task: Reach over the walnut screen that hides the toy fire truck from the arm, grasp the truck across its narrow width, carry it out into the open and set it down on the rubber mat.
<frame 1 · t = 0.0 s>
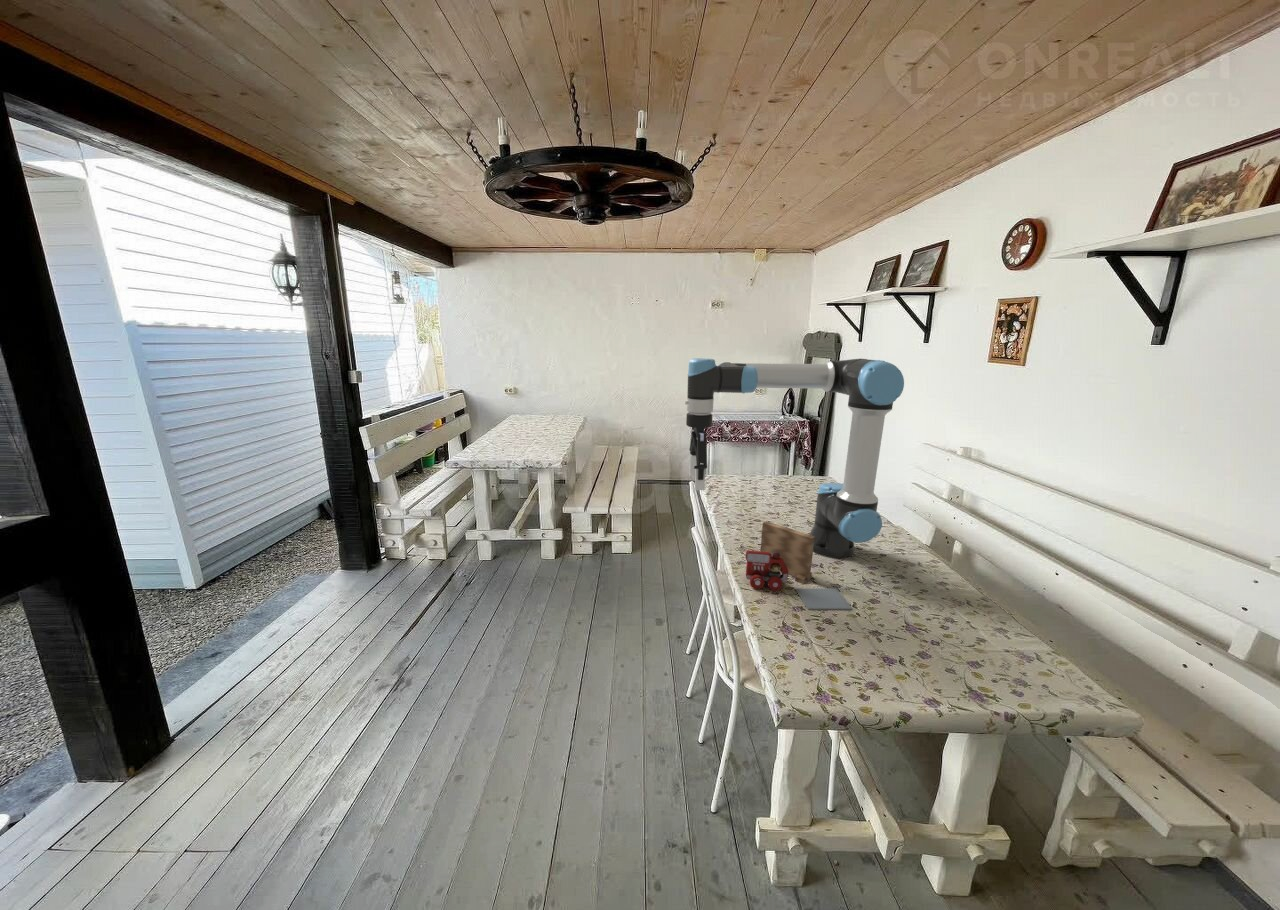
hand: (696, 482, 140), 28 cm above the table, fingers open, 13 cm apart
mat: (822, 599, 130), on the table
screen: (783, 570, 145), on the table
toy fire truck: (765, 585, 138), on the table
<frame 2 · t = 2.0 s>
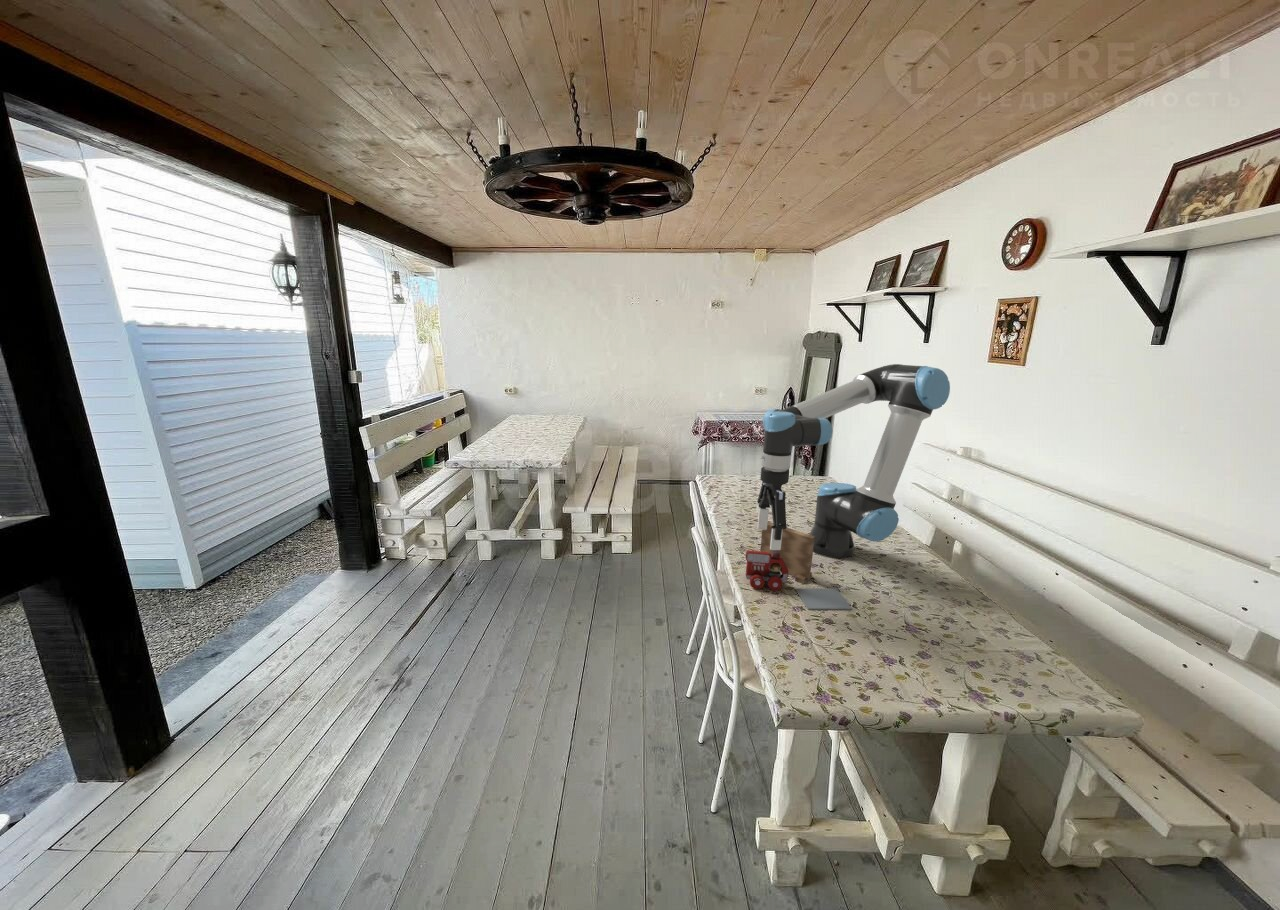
hand: (768, 538, 134), 15 cm above the table, fingers open, 13 cm apart
nothing on the table moved.
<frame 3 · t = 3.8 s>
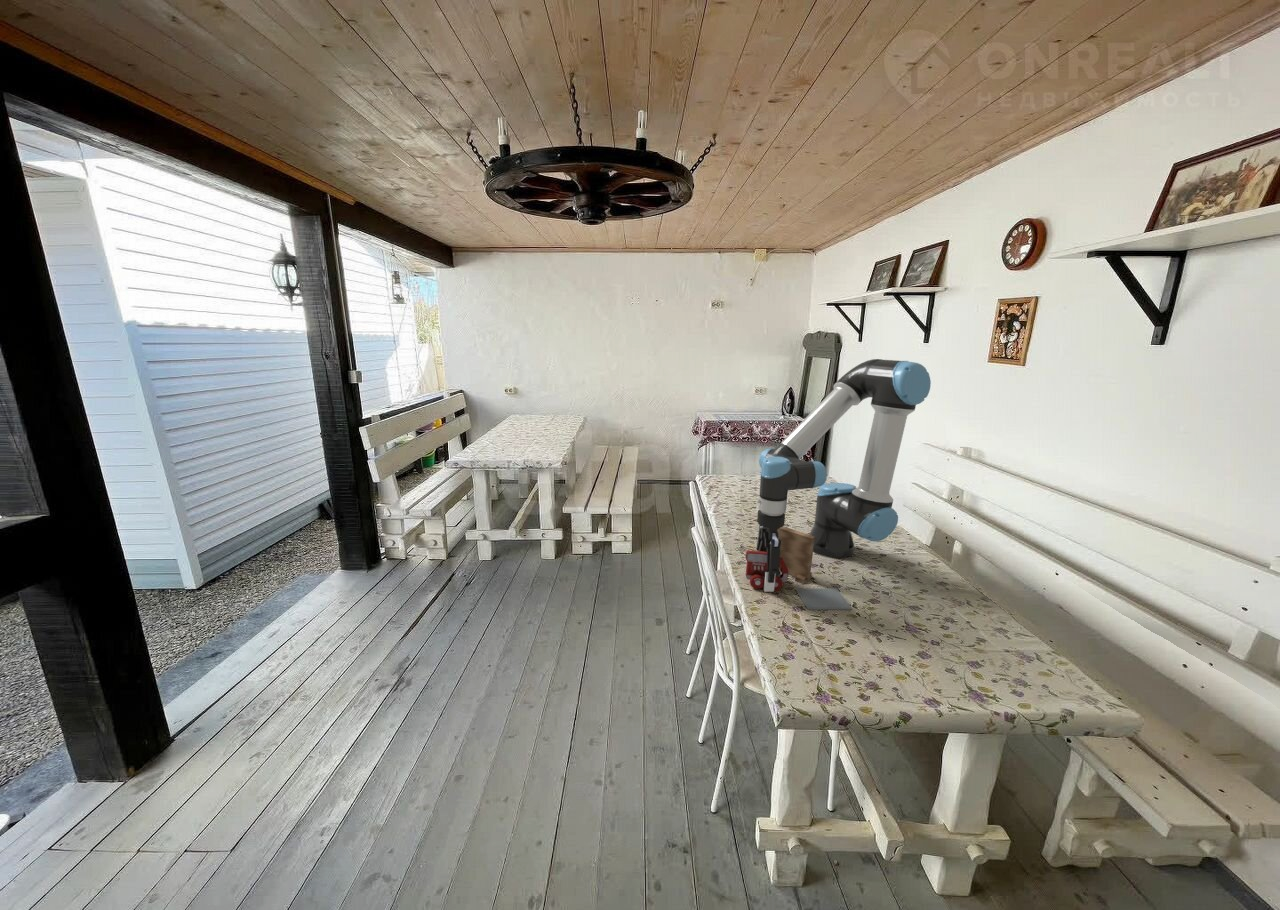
hand: (764, 583, 137), 0 cm above the table, fingers closed on toy fire truck, 7 cm apart
toy fire truck: (765, 584, 138), on the table, touching gripper
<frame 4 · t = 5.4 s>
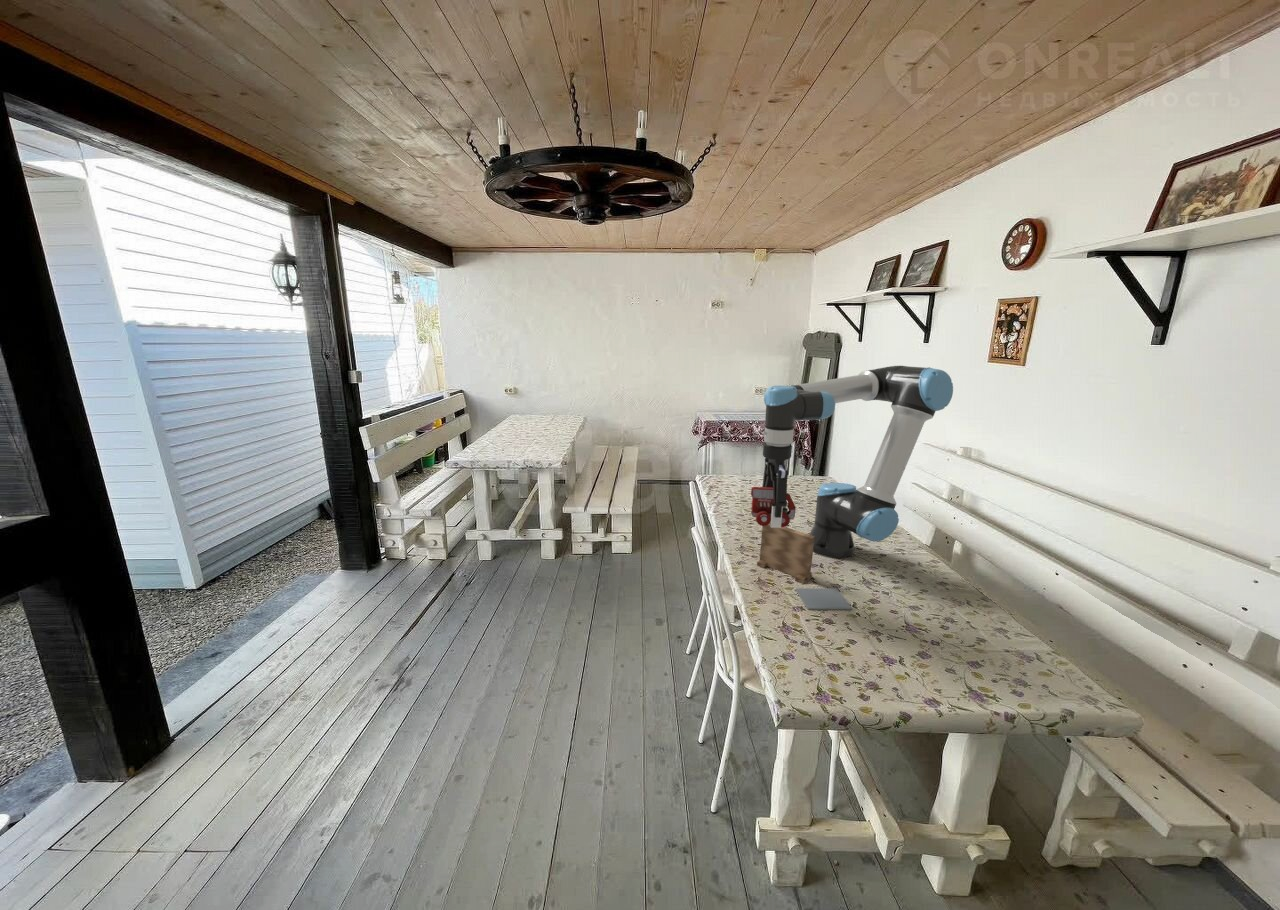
hand: (771, 521, 132), 20 cm above the table, fingers closed on toy fire truck, 7 cm apart
toy fire truck: (771, 522, 133), point 20 cm above the table, touching gripper
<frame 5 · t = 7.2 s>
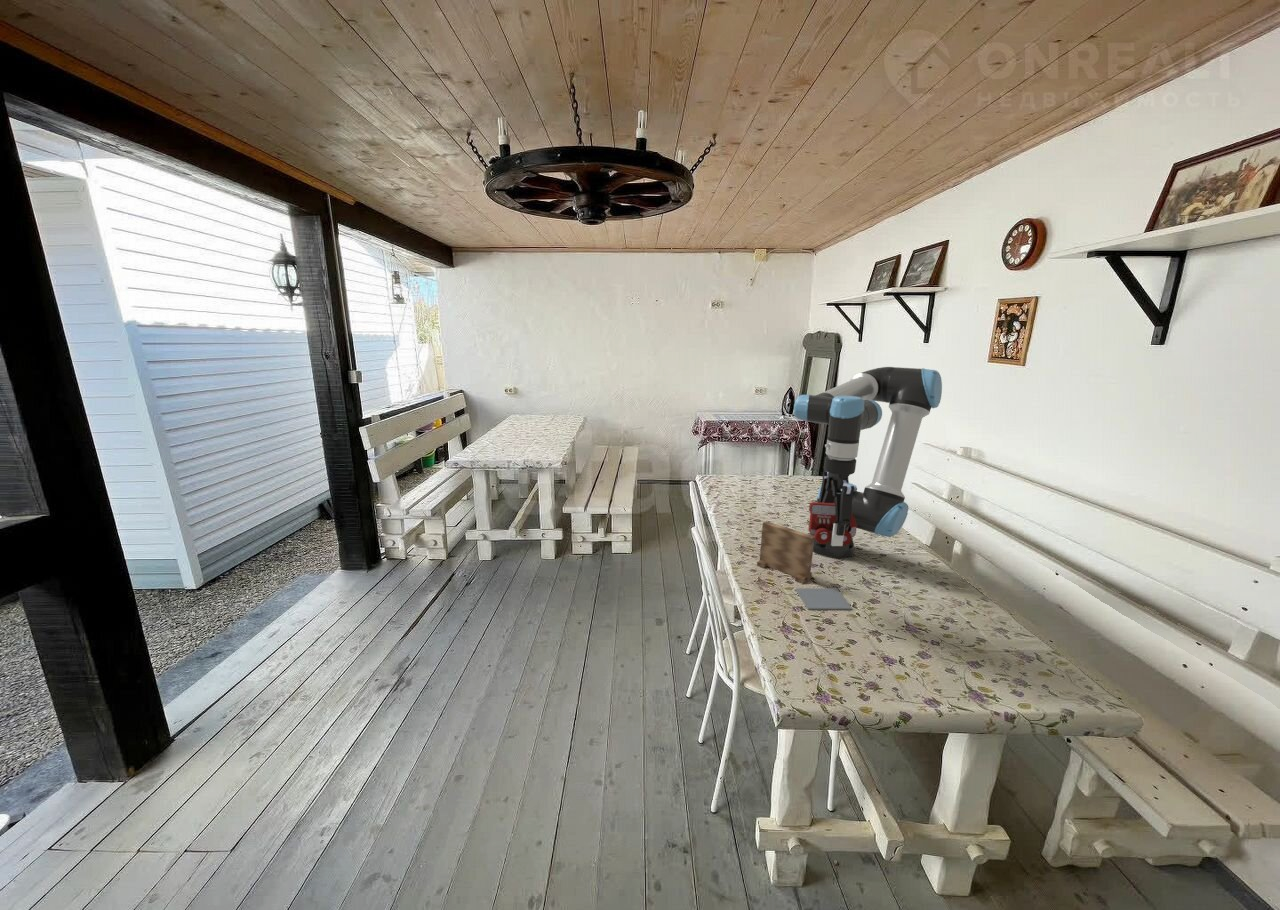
hand: (830, 538, 125), 19 cm above the table, fingers closed on toy fire truck, 7 cm apart
toy fire truck: (830, 540, 125), point 18 cm above the table, touching gripper
when the fingers open (2 cm above the table, at t = 9.9 s): toy fire truck drops 1 cm, resting on mat.
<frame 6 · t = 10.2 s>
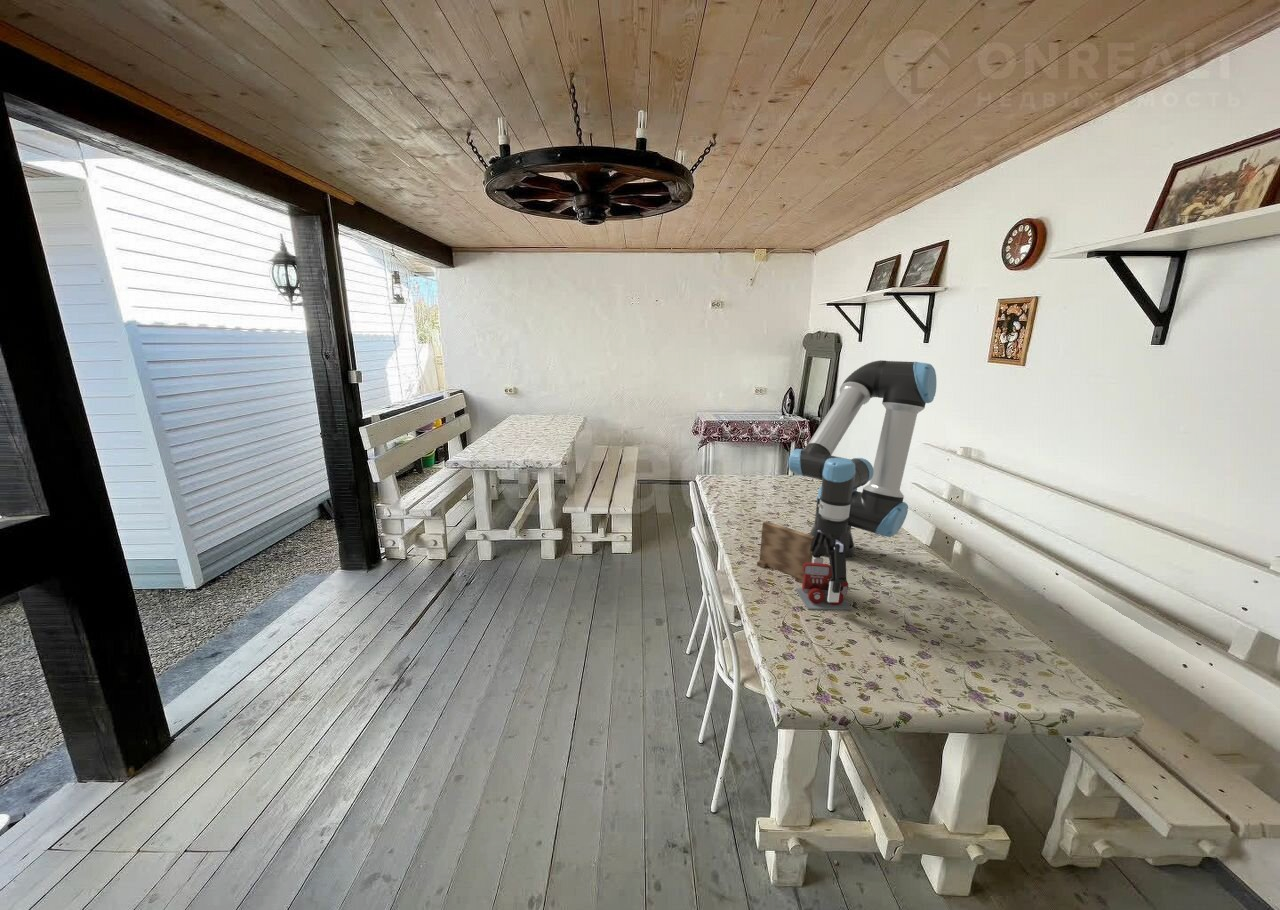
hand: (823, 589, 129), 3 cm above the table, fingers open, 11 cm apart
toy fire truck: (822, 598, 130), resting on mat
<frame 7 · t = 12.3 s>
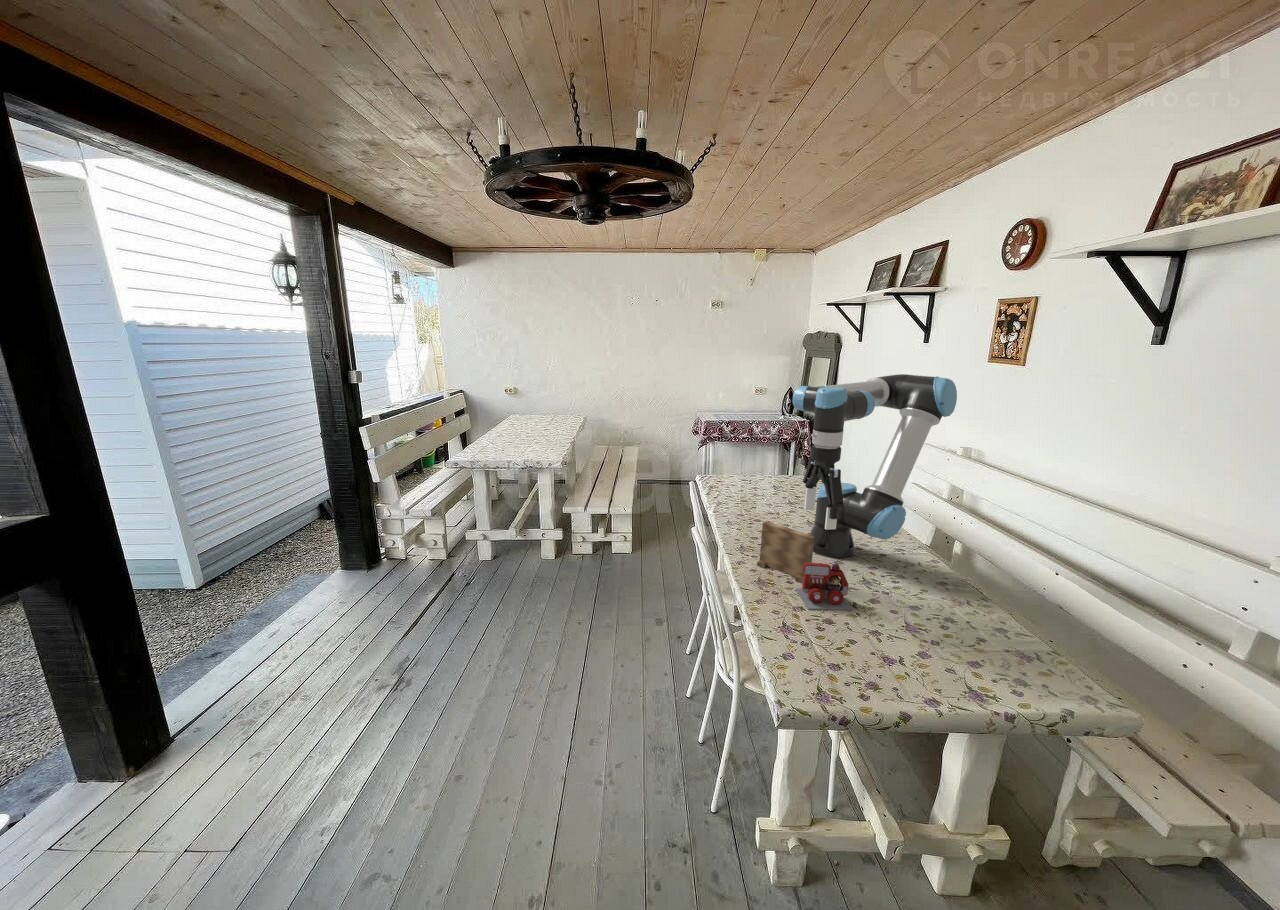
hand: (819, 518, 130), 22 cm above the table, fingers open, 13 cm apart
nothing on the table moved.
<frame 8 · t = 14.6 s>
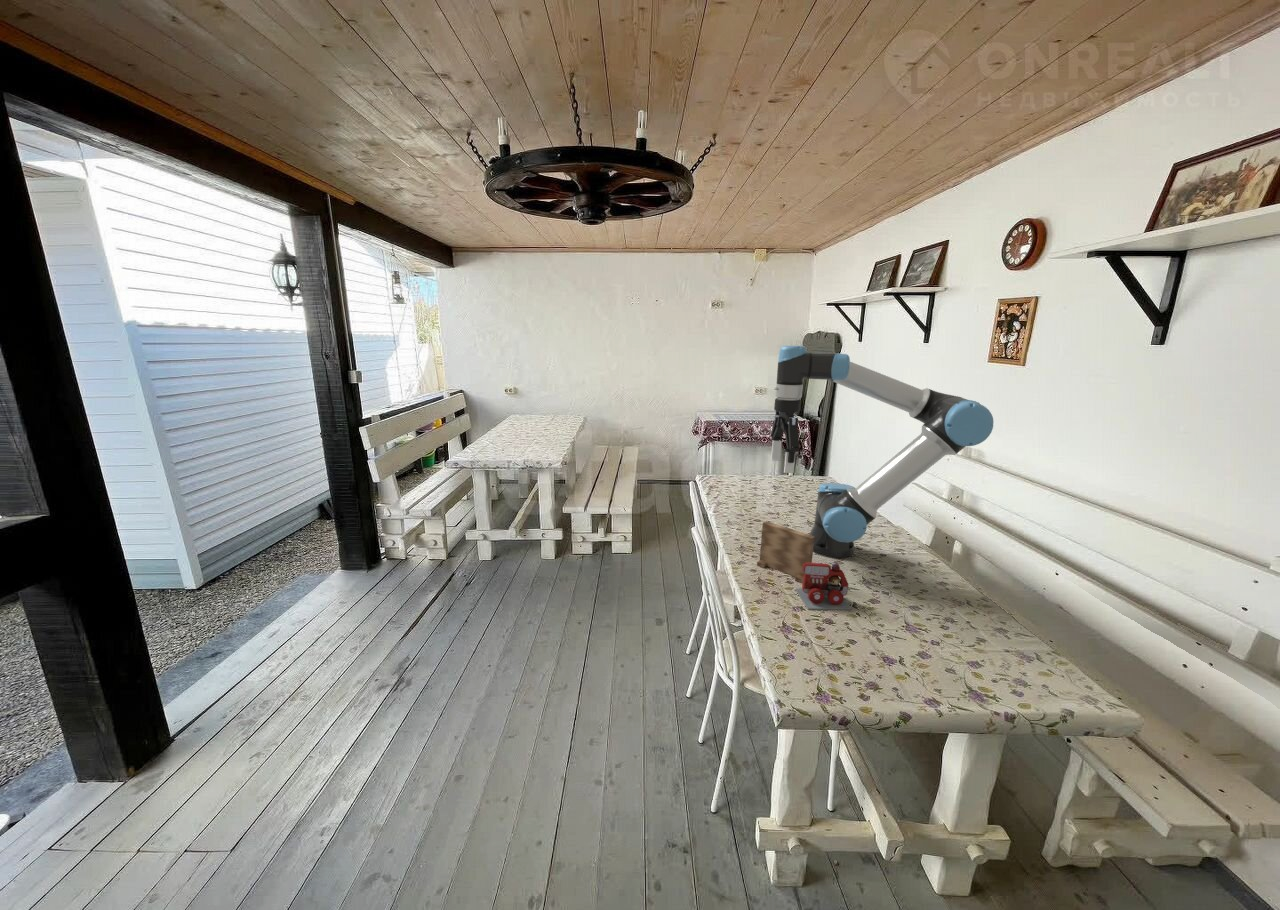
hand: (781, 466, 145), 32 cm above the table, fingers open, 13 cm apart
nothing on the table moved.
at the end: toy fire truck inside the target area on the mat (0.1 cm from its centre), point 0.2 cm above the mat's base; toy fire truck tilted 0°; the gripper is holding nothing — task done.
